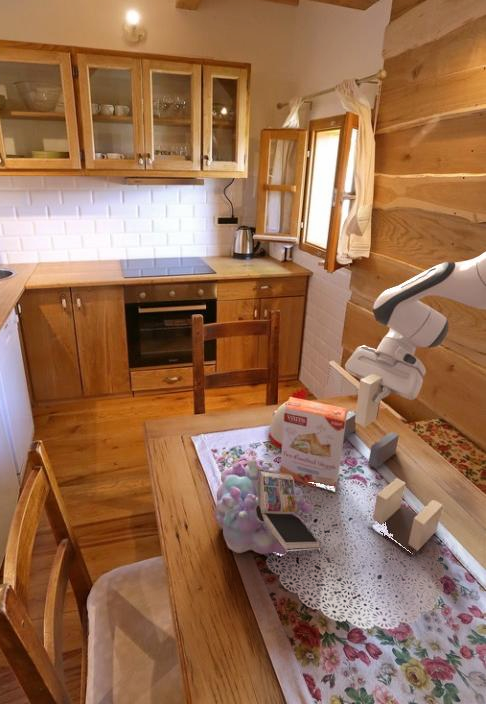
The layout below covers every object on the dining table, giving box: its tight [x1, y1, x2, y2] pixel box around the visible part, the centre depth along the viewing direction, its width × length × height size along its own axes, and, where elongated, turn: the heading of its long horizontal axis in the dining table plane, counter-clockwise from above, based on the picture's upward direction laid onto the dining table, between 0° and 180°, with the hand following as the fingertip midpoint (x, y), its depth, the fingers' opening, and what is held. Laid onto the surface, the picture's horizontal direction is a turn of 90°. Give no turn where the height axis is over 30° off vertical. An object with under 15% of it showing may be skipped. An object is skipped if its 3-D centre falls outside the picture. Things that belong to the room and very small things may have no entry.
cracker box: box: [279, 396, 348, 488], centre depth 99 cm, size 14×6×21 cm, turn 68°
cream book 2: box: [408, 499, 444, 552], centre depth 83 cm, size 2×8×7 cm, turn 128°
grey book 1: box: [344, 410, 357, 438], centre depth 118 cm, size 2×10×6 cm, turn 128°
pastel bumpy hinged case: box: [214, 455, 321, 555], centre depth 85 cm, size 20×22×18 cm
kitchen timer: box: [268, 388, 308, 450], centre depth 116 cm, size 14×14×15 cm
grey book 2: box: [368, 431, 400, 469], centre depth 109 cm, size 2×10×6 cm, turn 128°
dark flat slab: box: [380, 503, 418, 558], centre depth 88 cm, size 9×10×2 cm
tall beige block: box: [355, 374, 383, 428], centre depth 109 cm, size 3×6×13 cm, turn 128°
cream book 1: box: [372, 477, 406, 525], centre depth 89 cm, size 2×8×7 cm, turn 128°
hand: (367, 398), depth 108 cm, fingers closed on tall beige block, 3 cm apart
